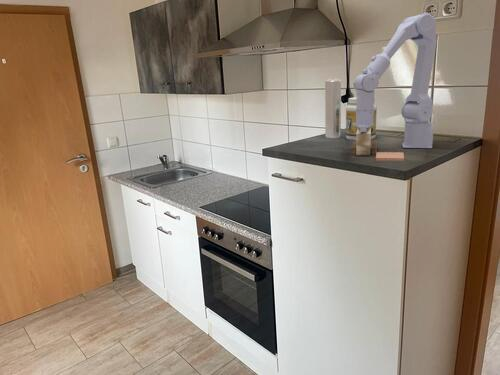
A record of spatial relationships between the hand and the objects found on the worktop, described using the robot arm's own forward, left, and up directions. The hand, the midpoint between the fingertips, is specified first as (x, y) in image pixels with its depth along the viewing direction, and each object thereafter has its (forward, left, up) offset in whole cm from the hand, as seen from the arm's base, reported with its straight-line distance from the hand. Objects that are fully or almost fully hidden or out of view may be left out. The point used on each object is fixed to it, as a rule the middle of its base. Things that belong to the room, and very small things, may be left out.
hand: (364, 149), depth 135 cm
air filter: (+15, -33, -1) cm, 36 cm away
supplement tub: (+3, -29, -1) cm, 29 cm away
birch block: (0, +3, 0) cm, 3 cm away
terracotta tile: (-9, +9, -1) cm, 12 cm away
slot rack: (0, -3, -1) cm, 3 cm away
